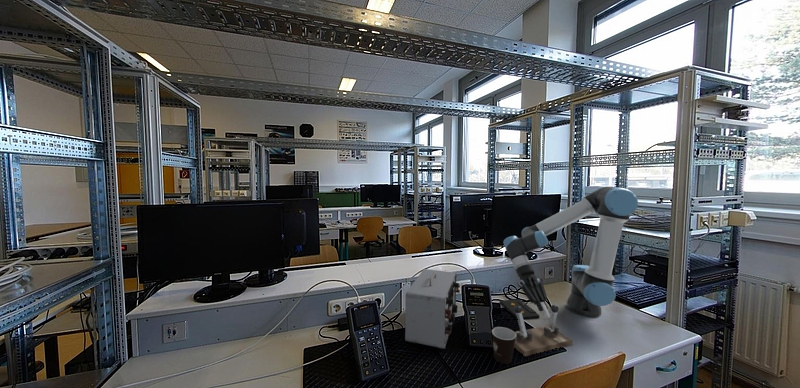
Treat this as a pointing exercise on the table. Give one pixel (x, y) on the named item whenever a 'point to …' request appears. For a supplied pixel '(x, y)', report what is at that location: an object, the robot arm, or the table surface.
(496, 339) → the coffee mug
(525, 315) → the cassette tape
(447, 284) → the vintage electronic device
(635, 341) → the table surface
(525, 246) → the robot arm
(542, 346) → the switch base
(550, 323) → the lever
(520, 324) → the lever
